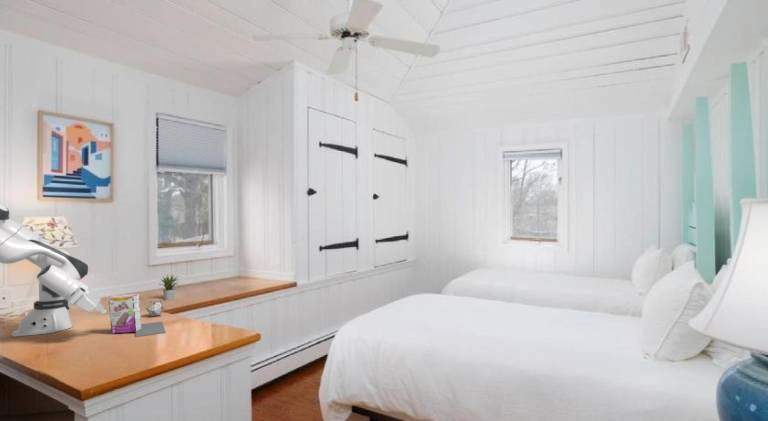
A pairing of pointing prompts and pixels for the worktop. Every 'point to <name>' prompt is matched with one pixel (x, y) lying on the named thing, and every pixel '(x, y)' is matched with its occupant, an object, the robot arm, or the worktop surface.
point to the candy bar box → (125, 313)
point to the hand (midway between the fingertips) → (105, 311)
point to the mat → (151, 329)
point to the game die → (155, 308)
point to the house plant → (169, 287)
